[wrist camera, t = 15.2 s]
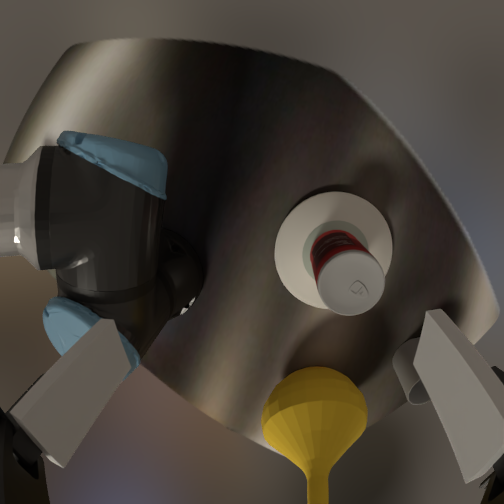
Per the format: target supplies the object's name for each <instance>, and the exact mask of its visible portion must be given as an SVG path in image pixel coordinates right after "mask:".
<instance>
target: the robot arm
mask: <svg viewBox="0 0 504 504" xmlns="http://www.w3.org/2000/svg"><path fill="white" fill-rule="evenodd" d="M57 144H58V146H40V147H39V148H38V149H37V150H36V151H35V152H34V153H33V154H32V155H31V156H30V157H29V158H28V159H27V160H26V161H24V162H23V163H11V164H0V257H3V256H16V255H22V256H23V257H25V258H26V259H27V260H28V261H29V262H30V263H31V264H32V265H33V266H34V267H35V268H36V269H37V270H48V269H56V278H57V287H58V295H57V297H53V298H52V299H50V300H49V302H48V304H47V306H46V307H45V309H44V311H43V323H44V327H45V330H46V333H47V335H48V337H49V339H50V341H51V342H52V344H53V345H54V347H55V348H56V350H57V351H58V352H59V353H60V355H61V356H62V357H61V358H60V359H59V360H58V361H57V362H56V363H55V364H54V365H53V366H52V367H51V368H50V369H49V370H48V371H47V372H46V373H44V374H43V375H41V376H40V377H39V378H38V379H37V380H36V381H35V382H34V383H33V385H31V386H30V387H29V388H28V391H26V392H25V393H24V394H23V395H22V396H21V397H20V398H19V399H18V400H17V402H15V404H14V405H13V406H12V407H11V408H10V409H9V410H8V411H7V412H6V413H4V412H3V410H2V409H1V408H0V504H50V501H49V496H48V490H47V484H46V477H45V468H44V461H43V458H42V457H41V456H40V455H41V453H42V452H43V453H44V454H45V455H46V457H47V458H48V459H49V460H50V461H52V462H53V463H55V464H57V465H59V466H60V467H62V468H65V466H66V465H67V463H68V461H69V460H70V458H71V457H72V455H73V454H74V452H75V451H76V449H77V447H78V446H79V444H80V443H81V441H82V440H83V438H84V437H85V435H86V434H87V432H88V431H89V429H90V427H91V426H92V424H93V423H94V421H95V420H96V418H97V417H98V415H99V414H100V412H101V411H102V409H103V408H104V407H105V405H106V404H107V402H108V401H109V399H110V398H111V396H112V395H113V393H114V392H115V390H116V389H117V387H118V386H119V385H120V383H121V382H122V381H123V380H125V379H126V378H127V377H128V376H129V375H130V374H131V373H132V372H133V371H134V369H135V368H137V367H138V366H139V364H140V361H141V359H142V358H143V356H144V355H145V353H146V352H147V350H148V349H149V347H150V346H151V345H152V343H153V342H154V340H155V339H156V337H157V336H158V334H159V333H160V331H161V330H162V328H163V327H164V326H165V324H166V323H167V321H168V320H170V319H173V318H175V317H177V316H179V315H181V314H183V313H184V312H186V311H187V310H188V309H189V308H190V307H191V306H192V305H193V304H194V302H195V301H196V299H197V298H198V296H199V294H200V292H201V289H202V285H203V270H202V266H201V263H200V260H199V258H198V256H197V254H196V252H195V250H194V249H193V248H192V246H191V245H190V244H189V243H188V242H187V241H186V240H185V239H184V238H183V237H181V236H180V235H178V234H177V233H175V232H173V231H170V230H167V229H163V228H161V225H162V217H163V209H164V202H165V200H166V199H167V195H166V194H165V190H166V179H167V170H168V164H167V160H166V158H165V156H164V155H163V154H162V153H161V152H160V151H158V150H157V149H154V148H151V147H148V146H144V145H141V144H137V143H133V142H129V141H125V140H120V139H116V138H111V137H106V136H100V135H94V134H87V133H80V132H75V131H63V132H62V133H61V134H60V136H59V138H58V139H57ZM413 365H414V367H415V369H416V371H417V373H418V375H419V376H420V378H421V380H422V382H423V384H424V386H425V388H426V390H427V392H428V394H429V397H430V399H431V400H432V403H433V405H434V407H435V409H436V411H437V413H438V416H439V418H440V420H441V422H442V425H443V427H444V429H445V431H446V434H447V436H448V439H449V441H450V443H451V446H452V448H453V451H454V453H455V456H456V458H457V461H458V463H459V466H460V469H461V472H462V474H463V478H464V480H465V483H468V482H471V481H473V480H474V479H476V478H478V477H480V476H482V475H484V474H485V473H486V472H487V471H488V470H489V469H490V468H491V467H492V466H493V468H494V470H495V471H494V472H493V473H492V474H490V475H489V476H488V477H487V478H486V479H485V480H484V481H483V482H482V483H481V485H480V486H479V488H482V487H483V486H484V485H485V484H486V483H488V485H487V486H486V487H485V489H486V491H485V493H484V496H483V499H482V501H481V504H504V372H503V371H502V370H500V369H499V368H497V367H496V366H493V367H490V366H489V365H488V363H487V362H486V361H485V360H484V358H483V357H482V356H481V354H480V353H479V352H478V351H477V349H476V348H475V347H474V346H473V345H472V343H471V342H470V341H469V340H468V339H467V337H466V336H465V335H464V334H463V333H462V331H461V330H460V329H459V328H458V327H457V326H456V325H455V323H454V322H453V321H452V320H451V319H450V318H449V317H448V316H447V315H446V313H445V312H444V311H443V310H442V309H436V310H429V311H426V315H425V320H424V324H423V328H422V333H421V337H420V340H419V344H418V348H417V351H416V355H415V358H414V362H413Z"/></svg>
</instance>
